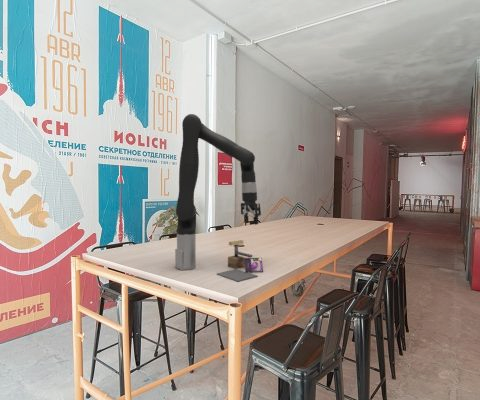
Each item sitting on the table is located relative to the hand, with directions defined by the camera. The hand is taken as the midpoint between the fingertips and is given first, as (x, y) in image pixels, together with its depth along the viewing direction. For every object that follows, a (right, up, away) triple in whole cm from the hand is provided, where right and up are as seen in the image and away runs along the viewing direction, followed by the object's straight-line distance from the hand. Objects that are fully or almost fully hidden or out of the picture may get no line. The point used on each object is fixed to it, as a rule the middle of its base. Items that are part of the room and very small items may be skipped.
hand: (251, 223), depth 162 cm
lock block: (-8, -22, +1) cm, 23 cm away
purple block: (0, -23, -8) cm, 24 cm away
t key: (-4, -17, -3) cm, 18 cm away
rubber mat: (-7, -23, -15) cm, 28 cm away
